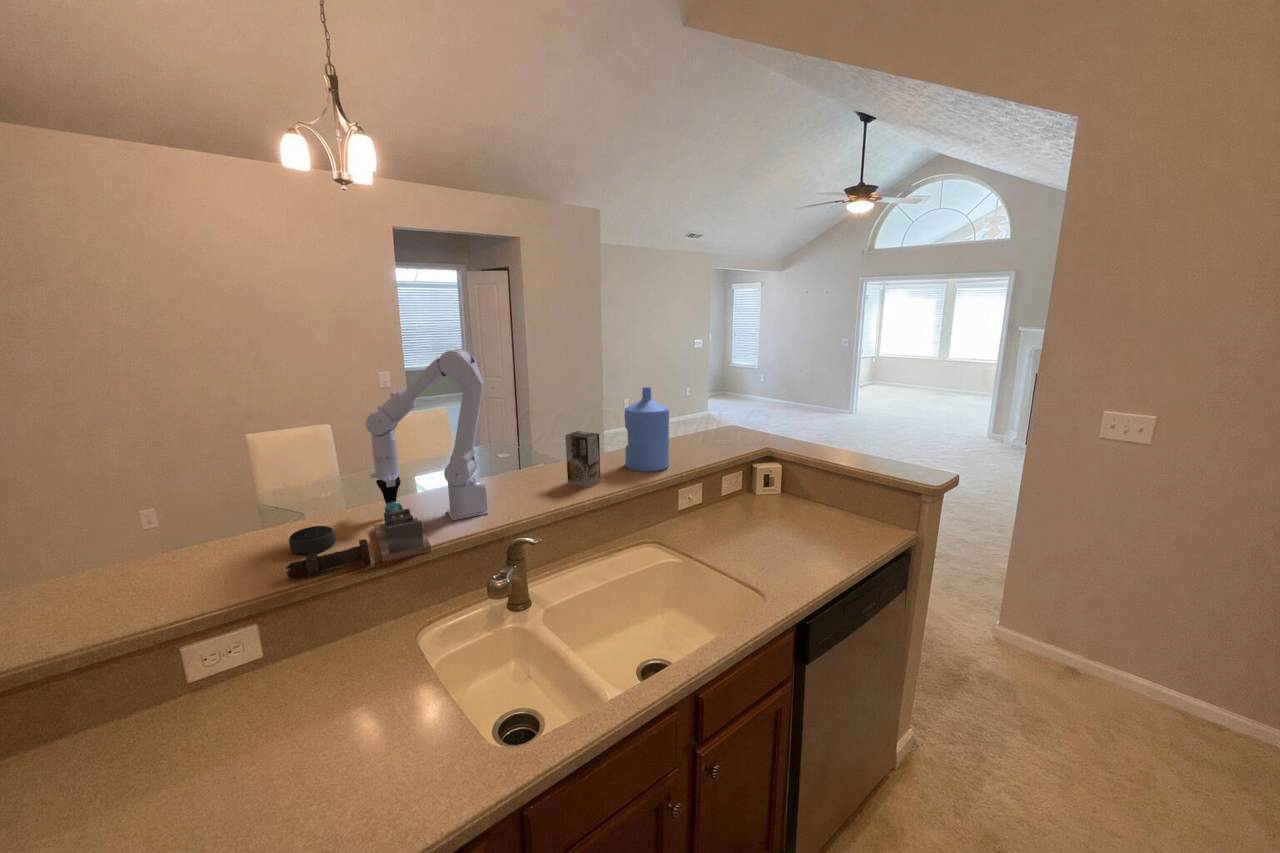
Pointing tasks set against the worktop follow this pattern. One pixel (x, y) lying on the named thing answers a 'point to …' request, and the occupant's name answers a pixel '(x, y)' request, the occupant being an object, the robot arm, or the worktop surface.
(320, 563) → the bolt
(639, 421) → the water jug
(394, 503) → the shaft
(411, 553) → the bearing rig
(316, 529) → the smart speaker
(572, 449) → the coffee box
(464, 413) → the robot arm
